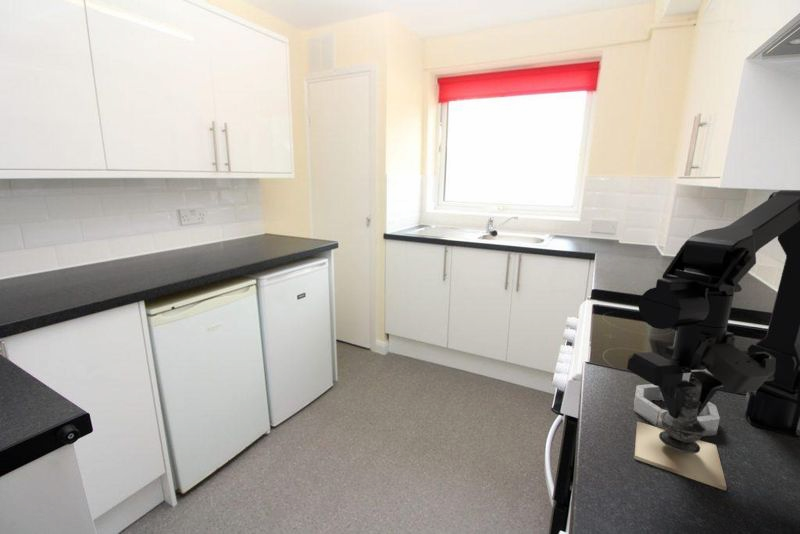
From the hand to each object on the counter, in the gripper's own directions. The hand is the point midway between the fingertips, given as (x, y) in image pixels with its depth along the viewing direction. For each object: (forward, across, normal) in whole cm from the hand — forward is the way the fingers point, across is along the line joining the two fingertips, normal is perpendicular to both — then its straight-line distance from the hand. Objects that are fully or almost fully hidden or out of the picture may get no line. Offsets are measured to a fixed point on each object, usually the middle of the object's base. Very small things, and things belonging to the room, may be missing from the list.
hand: (683, 415), depth 59 cm
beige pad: (+7, 0, 0) cm, 7 cm away
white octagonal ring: (+7, +9, +9) cm, 15 cm away
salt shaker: (+5, 0, 0) cm, 5 cm away
